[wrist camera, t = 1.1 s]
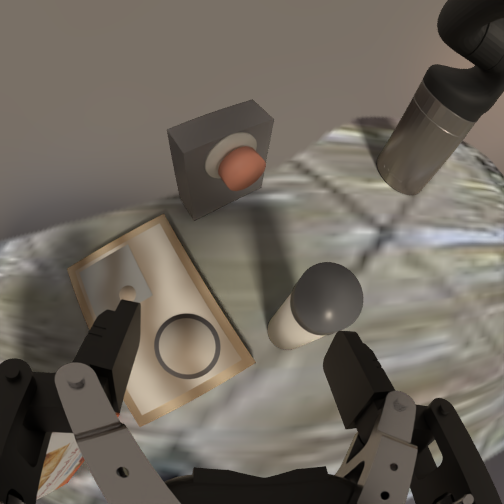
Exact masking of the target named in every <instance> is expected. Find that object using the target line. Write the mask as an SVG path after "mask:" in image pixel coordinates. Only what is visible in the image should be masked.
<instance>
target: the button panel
mask: <svg viewBox="0 0 504 504" xmlns="http://www.w3.org/2000/svg"><path fill="white" fill-rule="evenodd" d="M273 122H274V119H273V118H272V117H271V116H270V115H269V114H268V113H267V112H266V111H265V110H264V109H262V108H261V107H260V106H259V105H258V104H257V103H256V102H255V101H254V100H249V101H246V102H243V103H240V104H236V105H233V106H230V107H227V108H224V109H221V110H218V111H215V112H212V113H209V114H206V115H203V116H201V117H198V118H195V119H192V120H190V121H187V122H185V123H182V124H180V125H177V126H175V127H172V128H170V129H167V134H168V138H169V145H170V150H171V155H172V160H173V166H174V171H175V175H176V181H177V186H178V191H179V195H180V199H181V200H182V202H183V204H184V205H185V207H186V209H187V210H188V212H189V213H190V215H191V217H192V218H193V220H194V221H195V220H197V219H199V218H201V217H203V216H205V215H206V214H208V213H210V212H212V211H214V210H216V209H218V208H220V207H222V206H224V205H226V204H228V203H231V202H233V201H235V200H237V199H239V198H241V197H243V196H245V195H247V194H249V193H251V192H253V191H255V190H257V189H260V188H261V186H262V180H263V175H264V172H263V174H262V175H261V177H260V178H259V179H258V180H257V181H256V182H255V183H253V184H252V185H251V186H249V187H247V188H245V189H243V190H239V191H232V190H230V189H229V188H228V187H227V185H226V184H225V183H224V181H223V180H222V179H221V177H220V176H219V174H218V169H219V165H220V163H221V162H222V160H223V159H224V158H225V157H226V156H227V155H228V154H229V153H230V152H232V151H233V150H235V149H237V148H240V147H244V146H249V147H252V148H254V150H255V151H256V152H257V153H258V154H259V155H260V156H261V157H262V158H263V160H264V161H265V163H266V159H267V154H268V149H269V143H270V138H271V133H272V127H273Z"/></svg>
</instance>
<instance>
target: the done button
mask: <svg viewBox="0 0 504 504" xmlns="http://www.w3.org/2000/svg"><path fill="white" fill-rule="evenodd" d="M265 167H266V163H265V161H264V160H263V158H262V157H261V156H260V155H259V154H258V153H257V152H256V151H255V150H254V148H252V147H249V146H244V147H240V148H237V149H235V150H233V151H232V152H230V153H229V154H228V155H227V156H226V157H225V158H224V159H223V160H222V162H221V163H220V165H219V169H218V174H219V176H220V177H221V179H222V180H223V181H224V183H225V184H226V185H227V187H228V188H229V189H230V190H232V191H239V190H243V189H245V188H247V187H249V186H251V185H252V184H253V183H255V182H256V181H257V180H258V179H259V178H260V177H261V175H262V174H263V172H264V170H265Z"/></svg>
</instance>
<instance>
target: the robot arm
mask: <svg viewBox="0 0 504 504" xmlns="http://www.w3.org/2000/svg"><path fill="white" fill-rule="evenodd" d="M437 27H438V33H439V35H440V37H441V39H442V40H443V41H444V43H446V44H447V45H448V46H449V47H450V48H452V49H453V50H454V51H455V52H457V53H458V54H460V55H461V56H463V57H465V58H466V59H467V60H469V61H470V62H472V63H473V64H474V65H475V66H474V67H473V68H470V69H457V68H452V67H448V66H443V65H438V64H437V65H432V66H431V67H429V69H428V70H427V72H426V74H425V76H424V78H423V80H422V82H421V83H420V85H419V87H418V89H417V91H416V93H415V94H414V97H413V98H412V100H411V102H410V104H409V106H408V107H407V109H406V111H405V113H404V114H403V116H402V118H401V120H400V121H399V123H398V125H397V127H396V128H395V130H394V132H393V133H392V135H391V137H390V139H389V140H388V142H387V143H386V145H385V147H384V148H383V150H382V152H381V153H380V155H379V157H378V159H377V167H378V170H379V172H380V174H381V176H382V177H383V179H384V180H385V181H386V182H387V183H388V184H389V185H390V186H391V187H392V188H394V189H395V190H397V191H399V192H401V193H403V194H406V195H416V194H418V193H419V192H420V191H421V190H422V189H423V188H424V187H425V186H426V184H427V183H428V182H429V181H430V180H431V179H432V178H433V176H434V175H435V174H436V173H437V172H438V170H439V169H440V168H441V167H442V166H443V164H444V163H445V162H446V161H447V159H448V158H449V157H450V156H451V154H452V153H453V152H454V151H455V149H456V148H457V147H458V146H459V144H460V143H461V142H462V140H463V139H464V138H465V137H466V135H467V134H468V132H469V131H470V130H471V128H472V127H473V126H474V124H475V123H476V122H477V121H478V119H479V118H480V117H481V115H483V114H484V113H486V112H487V111H488V110H489V109H490V108H491V107H492V106H493V105H494V104H495V102H496V101H497V99H498V98H499V97H500V96H501V94H502V93H503V92H504V0H448V1H447V2H446V3H445V5H444V6H443V8H442V10H441V12H440V15H439V18H438V23H437ZM140 335H141V304H140V303H138V302H133V301H128V300H123V299H122V300H121V301H120V303H119V304H118V306H117V308H116V310H115V311H113V310H108V309H107V310H105V311H104V312H102V313H101V314H100V315H98V316H97V318H96V320H95V321H94V323H93V326H92V327H91V329H90V330H89V332H88V334H87V336H86V338H85V340H84V342H83V343H82V345H81V347H80V349H79V351H78V353H77V355H76V357H75V359H74V361H73V362H72V363H69V364H66V365H64V366H62V367H61V368H60V369H59V370H58V371H57V372H56V373H41V372H32V371H31V368H30V366H29V365H28V364H27V363H26V362H25V361H23V360H21V359H8V360H6V361H4V362H2V363H1V364H0V504H36V498H37V493H38V488H39V483H40V478H41V473H42V469H43V465H44V461H45V457H46V453H47V449H48V445H49V442H50V438H51V435H52V432H58V433H73V434H74V436H75V440H76V443H77V445H78V447H79V449H80V452H81V454H82V456H83V458H84V460H85V462H86V464H87V466H88V468H89V470H90V472H91V474H92V476H93V478H94V479H95V481H96V483H97V485H98V487H99V488H100V490H101V492H102V494H103V495H104V497H105V499H106V500H107V502H108V503H109V504H405V502H406V499H407V495H408V491H409V488H410V489H411V491H412V494H413V497H414V500H415V503H416V504H502V503H501V500H500V498H499V495H498V493H497V490H496V488H495V486H494V484H493V482H492V480H491V477H490V475H489V473H488V471H487V469H486V467H485V464H484V462H483V460H482V458H481V456H480V454H479V452H478V451H477V449H476V447H475V445H474V443H473V441H472V439H471V437H470V435H469V433H468V432H467V430H466V428H465V426H464V424H463V423H462V421H461V419H460V417H459V416H458V414H457V412H456V410H455V409H454V407H453V406H452V404H451V403H450V402H448V401H447V400H445V399H442V398H436V399H434V400H433V401H432V402H431V403H430V404H429V406H422V405H415V402H414V401H413V399H412V398H411V397H410V396H409V395H407V394H406V393H404V392H401V391H395V389H394V387H393V386H392V384H391V382H390V380H389V378H388V377H387V375H386V373H385V371H384V370H383V368H381V367H382V366H381V365H380V363H379V361H377V360H378V359H377V358H376V356H375V354H374V353H373V351H372V350H371V349H370V348H369V347H368V346H367V345H366V344H364V343H363V342H362V341H361V339H360V337H359V336H358V334H357V333H356V332H352V331H338V332H337V333H336V335H335V337H334V339H333V341H332V343H331V345H330V347H329V349H328V351H327V353H326V355H325V357H324V361H323V369H324V373H325V375H326V378H327V380H328V383H329V386H330V388H331V391H332V394H333V396H334V399H335V402H336V404H337V407H338V410H339V413H340V415H341V418H342V421H343V424H344V426H345V429H353V428H357V431H358V432H357V433H356V434H355V435H354V437H353V440H352V442H351V445H350V447H349V449H348V451H347V454H346V456H345V458H344V460H343V462H342V465H341V467H340V468H339V470H338V471H337V473H336V474H335V475H331V474H328V472H327V469H326V466H324V467H315V468H305V469H296V470H292V471H289V472H286V473H282V474H279V475H275V476H271V477H267V478H261V477H256V476H251V475H247V474H243V473H238V472H234V471H230V470H218V469H205V468H195V467H194V468H193V473H192V475H186V476H181V477H176V478H173V479H170V480H167V481H165V482H163V480H162V479H161V478H160V476H159V475H158V474H157V472H156V471H155V469H154V468H153V467H152V465H151V464H150V462H149V461H148V459H147V458H146V456H145V455H144V453H143V452H142V450H141V449H140V447H139V446H138V444H137V442H136V441H135V439H134V438H133V436H132V434H131V433H130V431H129V430H128V428H127V427H126V425H125V424H122V423H121V422H120V421H119V419H118V417H117V415H116V414H115V412H117V413H120V409H121V406H122V402H123V398H124V395H125V391H126V388H127V384H128V381H129V377H130V374H131V371H132V367H133V364H134V361H135V358H136V355H137V351H138V348H139V343H140ZM434 440H436V442H437V444H438V447H439V449H440V451H441V453H442V456H443V460H442V463H441V465H440V466H439V467H437V466H436V464H435V462H434V459H433V457H432V455H431V452H430V450H429V448H428V445H429V444H431V443H432V442H433V441H434Z"/></svg>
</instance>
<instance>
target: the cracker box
mask: <svg viewBox="0 0 504 504" xmlns="http://www.w3.org/2000/svg"><path fill="white" fill-rule="evenodd" d="M115 414H116V415H117V417H118V416H119V415H120V414H119V413H117V412H115ZM83 462H84V458H83V456H82V454H81V452H80V449H79V447H78V445H77V443H76V440H75V436H74V434H73V433H58V432H52V435H51V438H50V442H49V445H48V449H47V453H46V457H45V461H44V465H43V469H42V473H41V478H40V483H39V488H38V493H37V498H36V500H37V499H39V498H41V497H43V496H45V495H46V494H48V493H50V492H52V491H54V490H56V489H58V488H59V487H61V486H63V485H65V484H66V483H68V481H69V480H70V479H71V477H72V476H73V475H74V473H75V472H76V471H77V470H78V468H79V467H80V466H81V464H82V463H83Z"/></svg>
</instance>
